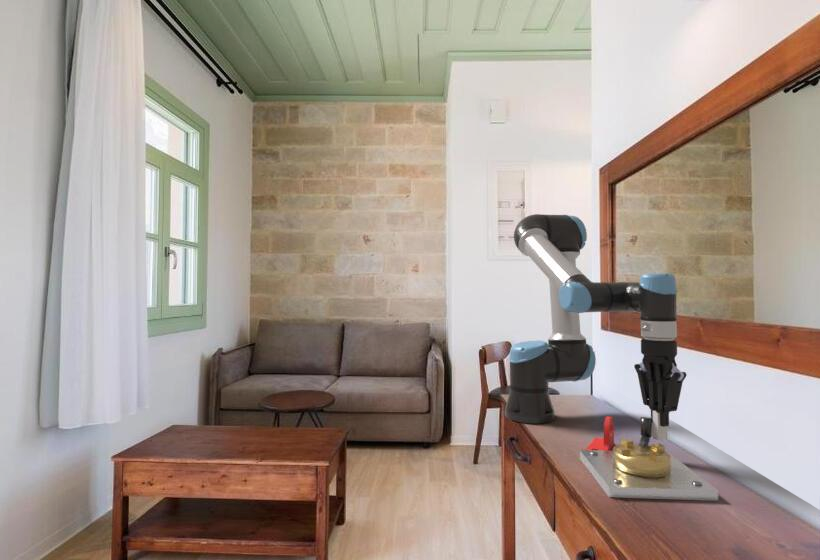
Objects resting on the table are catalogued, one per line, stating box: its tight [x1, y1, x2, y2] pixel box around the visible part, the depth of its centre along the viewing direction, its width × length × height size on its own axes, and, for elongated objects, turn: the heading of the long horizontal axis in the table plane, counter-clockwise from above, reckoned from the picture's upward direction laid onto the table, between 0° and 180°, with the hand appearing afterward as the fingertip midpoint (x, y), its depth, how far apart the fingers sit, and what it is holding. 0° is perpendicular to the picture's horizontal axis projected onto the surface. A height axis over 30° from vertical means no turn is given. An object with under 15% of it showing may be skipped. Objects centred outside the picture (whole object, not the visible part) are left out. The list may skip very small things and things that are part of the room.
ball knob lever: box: [612, 416, 671, 477], centre depth 101 cm, size 20×11×7 cm, turn 148°
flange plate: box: [579, 449, 719, 502], centre depth 97 cm, size 20×20×2 cm
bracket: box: [585, 415, 615, 451], centre depth 114 cm, size 12×4×8 cm, turn 146°
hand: (660, 438), depth 107 cm, fingers closed
